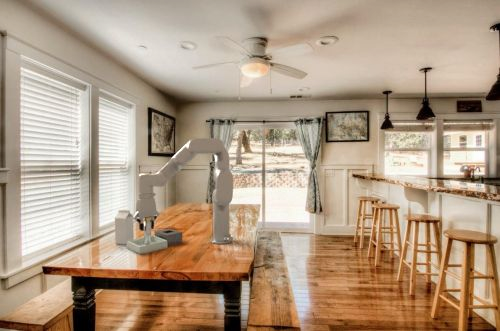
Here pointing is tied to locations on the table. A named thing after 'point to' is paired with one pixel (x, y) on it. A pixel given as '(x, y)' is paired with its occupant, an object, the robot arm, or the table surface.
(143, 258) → the table surface
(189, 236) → the table surface
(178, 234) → the hitch block
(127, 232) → the milk carton
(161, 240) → the tray
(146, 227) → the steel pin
